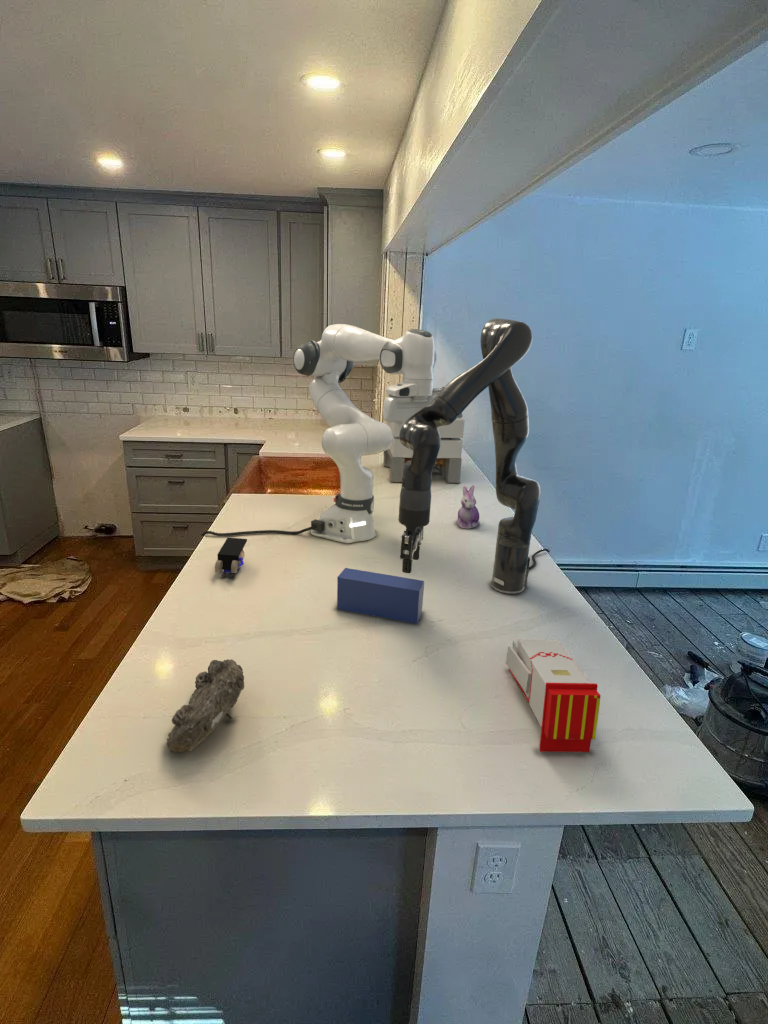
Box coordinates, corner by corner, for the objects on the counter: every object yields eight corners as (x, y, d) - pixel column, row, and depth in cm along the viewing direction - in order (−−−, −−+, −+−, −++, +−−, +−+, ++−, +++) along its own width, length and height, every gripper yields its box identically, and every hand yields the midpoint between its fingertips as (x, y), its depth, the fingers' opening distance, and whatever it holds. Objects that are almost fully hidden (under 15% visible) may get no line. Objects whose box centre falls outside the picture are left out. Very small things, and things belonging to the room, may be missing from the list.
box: (336, 609, 148) (337, 577, 145) (344, 598, 154) (345, 567, 151) (416, 624, 143) (419, 590, 140) (421, 612, 149) (424, 580, 145)
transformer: (382, 463, 289) (386, 382, 275) (445, 464, 293) (451, 384, 279) (390, 482, 257) (394, 392, 243) (460, 483, 261) (468, 394, 247)
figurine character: (238, 584, 162) (249, 557, 175) (236, 562, 158) (247, 536, 172) (215, 584, 161) (227, 556, 175) (212, 561, 158) (225, 535, 171)
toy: (554, 622, 128) (610, 691, 98) (548, 677, 130) (601, 759, 101) (501, 621, 127) (541, 690, 98) (496, 676, 130) (534, 758, 101)
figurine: (465, 531, 205) (469, 491, 200) (449, 521, 213) (452, 483, 208) (486, 527, 209) (490, 488, 204) (470, 518, 217) (473, 481, 212)
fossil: (192, 660, 117) (244, 628, 112) (224, 691, 120) (276, 661, 115) (142, 746, 98) (202, 712, 93) (182, 779, 101) (242, 748, 96)
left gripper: (442, 386, 170) (440, 432, 175) (381, 388, 162) (379, 436, 166) (454, 389, 165) (450, 436, 169) (390, 390, 157) (389, 440, 161)
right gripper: (424, 515, 129) (419, 580, 134) (435, 497, 142) (431, 557, 147) (392, 511, 131) (388, 574, 136) (406, 494, 144) (403, 552, 149)
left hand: (415, 436), depth 168 cm, fingers open, 8 cm apart
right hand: (410, 565), depth 142 cm, fingers open, 8 cm apart
